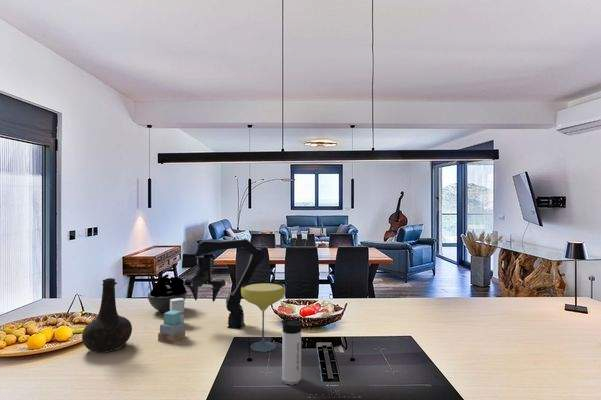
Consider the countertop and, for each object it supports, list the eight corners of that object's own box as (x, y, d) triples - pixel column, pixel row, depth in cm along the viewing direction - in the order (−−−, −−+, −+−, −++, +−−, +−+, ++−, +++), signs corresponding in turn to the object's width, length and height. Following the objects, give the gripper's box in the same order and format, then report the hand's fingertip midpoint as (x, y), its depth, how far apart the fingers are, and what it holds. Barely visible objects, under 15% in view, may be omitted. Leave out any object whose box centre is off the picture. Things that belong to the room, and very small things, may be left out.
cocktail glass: (291, 342, 156) (291, 283, 156) (274, 359, 138) (275, 293, 139) (253, 336, 161) (253, 280, 162) (232, 352, 144) (232, 289, 144)
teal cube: (180, 321, 161) (181, 311, 161) (173, 325, 156) (173, 314, 156) (171, 320, 163) (171, 310, 163) (163, 323, 158) (164, 313, 158)
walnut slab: (185, 337, 162) (185, 329, 162) (174, 343, 154) (174, 335, 154) (169, 335, 164) (169, 327, 164) (158, 341, 156) (158, 333, 156)
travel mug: (280, 376, 125) (281, 317, 125) (300, 375, 125) (300, 317, 125) (281, 385, 118) (281, 324, 119) (301, 385, 119) (302, 323, 119)
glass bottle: (80, 361, 136) (81, 285, 136) (83, 344, 152) (84, 276, 152) (133, 352, 144) (133, 281, 144) (130, 337, 160) (131, 273, 160)
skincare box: (171, 326, 174) (171, 301, 174) (169, 324, 177) (169, 299, 177) (184, 324, 177) (184, 299, 177) (182, 321, 181) (182, 297, 181)
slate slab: (183, 329, 161) (183, 321, 161) (173, 335, 154) (173, 326, 154) (170, 327, 163) (170, 320, 163) (159, 333, 156) (159, 324, 156)
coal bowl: (179, 317, 188) (179, 280, 188) (140, 316, 188) (141, 280, 188) (191, 306, 208) (191, 273, 208) (156, 305, 208) (156, 272, 208)
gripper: (177, 269, 166) (177, 303, 166) (214, 271, 161) (214, 307, 161) (190, 265, 177) (190, 297, 177) (226, 267, 172) (225, 300, 172)
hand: (204, 300), depth 171 cm, fingers open, 9 cm apart
